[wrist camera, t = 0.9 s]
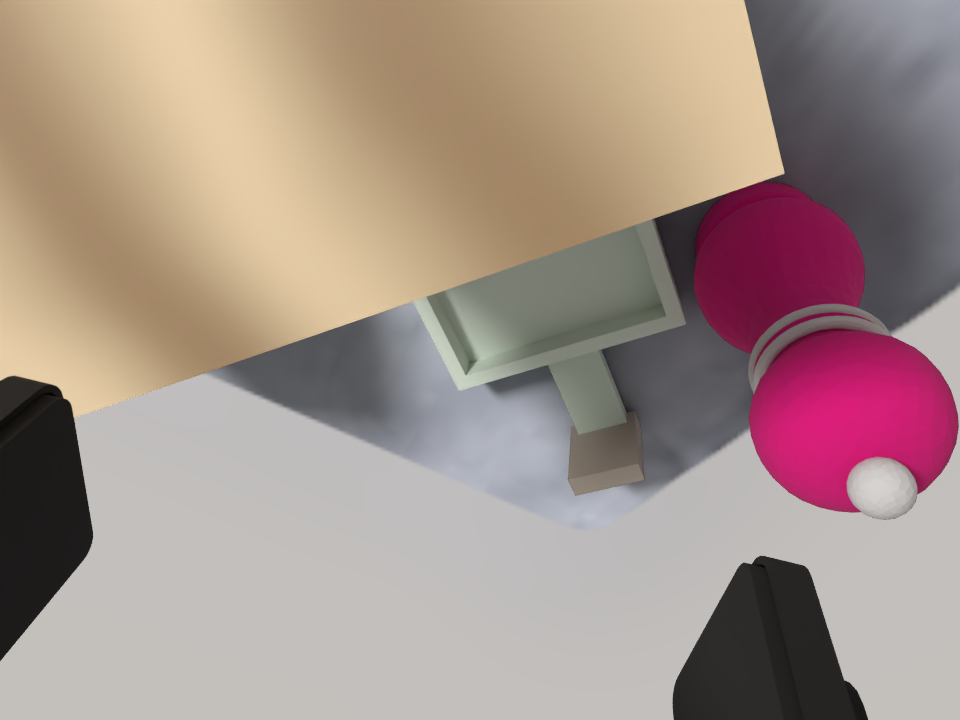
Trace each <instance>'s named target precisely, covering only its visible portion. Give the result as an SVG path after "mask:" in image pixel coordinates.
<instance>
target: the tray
mask: <svg viewBox="0 0 960 720" xmlns="http://www.w3.org/2000/svg"><path fill="white" fill-rule="evenodd" d="M413 302H414V304H415V306H416V308H417V310H418V312H419V314H420V316H421V318H422V320H423V322H424V324H425V326H426V328H427V330H428V331H429V333H430V335H431V337H432V339H433V341H434V343H435V345H436V347H437V349H438V351H439V353H440V355H441V357H442V359H443V361H444V363H445V364H446V366H447V368H448V370H449V372H450V374H451V376H452V378H453V380H454V382H455V384H456V386H457V388H458V390H459V391H460V390H464V389H467V388H470V387H474V386H477V385H481V384H484V383H488V382H491V381H495V380H498V379H501V378H505V377H508V376H512V375H515V374H519V373H522V372H525V371H529V370H532V369H536V368H539V367H543V366H546V365H548V367H549V369H550V371H551V373H552V376H553V378H554V380H555V382H556V385H557V387H558V389H559V391H560V394H561V396H562V398H563V401H564V403H565V405H566V407H567V410H568V412H569V414H570V416H571V419H572V421H573V423H574V426H573V427H571V439H570V456H569V472H568V481H569V483H570V485H571V488H572V490H573V492H574V494H575V496H577V495H581V494H585V493H590V492H594V491H599V490H603V489H608V488H612V487H617V486H621V485H626V484H630V483H634V482H639V481H643V480H645V476H644V463H643V450H642V437H641V426H640V423H639V421H638V418H637V416H636V413H635V411H631V412H627V413H626V410H625V408H624V405H623V403H622V400H621V398H620V395H619V393H618V390H617V388H616V385H615V383H614V380H613V377H612V375H611V372H610V370H609V367H608V365H607V362H606V360H605V357H604V355H603V352H602V350H601V349H605V348H608V347H611V346H615V345H618V344H622V343H625V342H629V341H632V340H635V339H639V338H642V337H646V336H649V335H653V334H656V333H659V332H663V331H666V330H670V329H673V328H677V327H680V326H684V325H686V321H685V316H684V311H683V307H682V302H681V299H680V296H679V293H678V290H677V287H676V284H675V281H674V278H673V275H672V272H671V269H670V266H669V262H668V259H667V256H666V253H665V250H664V247H663V244H662V241H661V238H660V235H659V232H658V229H657V226H656V223H655V220H654V219H651V220H648V221H645V222H642V223H639V224H636V225H633V226H631V227H628V228H625V229H622V230H619V231H616V232H613V233H610V234H607V235H604V236H602V237H599V238H596V239H593V240H590V241H587V242H584V243H581V244H578V245H575V246H572V247H570V248H567V249H564V250H561V251H558V252H555V253H552V254H549V255H546V256H543V257H540V258H538V259H535V260H532V261H529V262H526V263H523V264H520V265H517V266H514V267H511V268H509V269H506V270H503V271H500V272H497V273H494V274H491V275H488V276H485V277H482V278H479V279H477V280H474V281H471V282H468V283H465V284H462V285H459V286H456V287H453V288H450V289H447V290H445V291H442V292H439V293H436V294H433V295H430V296H427V297H424V298H421V299H418V300H416V301H413Z"/></svg>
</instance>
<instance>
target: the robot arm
mask: <svg viewBox="0 0 960 720" xmlns="http://www.w3.org/2000/svg"><path fill="white" fill-rule="evenodd" d="M92 540H93V530H92V524H91V518H90V512H89V506H88V500H87V494H86V488H85V482H84V476H83V470H82V465H81V458H80V452H79V446H78V440H77V434H76V428H75V422H74V416H73V410H72V406H71V403H70V402H69V401H68V400H67V399H64V398H63V395H62V392H61V390H60V389H59V388H58V387H57V386H55V385H52V384H48V383H43V382H39V381H35V380H31V379H27V378H23V377H18V376H9V377H6V378H4V379H3V380H1V381H0V661H1V660H2V658H3V657H4V656H5V655H6V653H7V652H8V651H9V650H10V649H11V647H12V646H13V645H14V644H15V643H16V641H17V640H18V639H19V638H20V636H21V635H22V634H23V633H24V632H25V630H26V629H27V628H28V626H29V625H30V624H31V623H32V622H33V621H34V619H35V618H36V617H37V616H38V615H39V613H40V612H41V611H42V610H43V608H44V607H45V606H46V605H47V603H48V602H49V601H50V600H51V599H52V598H53V596H54V595H55V594H56V593H57V591H58V590H59V589H60V588H61V587H62V585H63V584H64V583H65V582H66V581H67V579H68V578H69V577H70V576H71V574H72V573H73V572H74V571H75V570H76V568H77V567H78V566H79V565H80V563H81V562H82V561H83V560H84V558H85V557H86V555H87V554H88V552H89V550H90V547H91V544H92ZM673 715H674V720H868V718H867V715H866V711H865V708H864V705H863V703H862V701H861V699H860V697H859V694H858V692H857V690H856V689H855V688H854V687H853V686H852V685H851V684H850V683H849V682H847V681H844V679H843V676H842V673H841V669H840V666H839V663H838V660H837V657H836V653H835V650H834V647H833V644H832V641H831V637H830V634H829V631H828V628H827V625H826V622H825V618H824V615H823V612H822V609H821V606H820V602H819V599H818V596H817V593H816V590H815V586H814V583H813V580H812V577H811V575H810V572H809V570H808V569H807V568H806V567H805V566H803V565H799V564H795V563H791V562H786V561H782V560H778V559H774V558H770V557H766V556H759V557H757V558H756V559H755V560H754V562H753V563H752V564H748V563H742V564H741V565H740V566H739V568H738V569H737V571H736V573H735V575H734V576H733V578H732V580H731V582H730V584H729V585H728V587H727V589H726V591H725V593H724V594H723V596H722V598H721V600H720V601H719V603H718V605H717V607H716V609H715V611H714V612H713V614H712V616H711V618H710V620H709V621H708V623H707V625H706V627H705V629H704V630H703V632H702V634H701V636H700V638H699V640H698V641H697V643H696V645H695V647H694V648H693V650H692V652H691V654H690V656H689V658H688V659H687V661H686V663H685V665H684V667H683V669H682V670H681V672H680V674H679V676H678V678H677V680H676V683H675V686H674V693H673Z"/></svg>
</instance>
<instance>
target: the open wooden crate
mask: <svg viewBox="0 0 960 720" xmlns="http://www.w3.org/2000/svg"><path fill="white" fill-rule="evenodd" d="M782 174H785V173H784V169H783V164H782V160H781V156H780V152H779V147H778V143H777V139H776V134H775V130H774V126H773V122H772V117H771V113H770V109H769V105H768V100H767V96H766V92H765V87H764V83H763V79H762V75H761V70H760V66H759V62H758V57H757V53H756V49H755V45H754V40H753V36H752V32H751V27H750V23H749V19H748V15H747V10H746V6H745V2H744V0H0V381H1V380H3V379H4V378H6V377H9V376H18V377H23V378H27V379H31V380H35V381H39V382H43V383H48V384H52V385H55V386H57V387H58V388H59V389H60V390H61V392H62V395H63V398H64V399H67V400H68V401H69V402H70V403H71V406H72V410H73V416H74V418H75V417H78V416H81V415H84V414H87V413H90V412H93V411H96V410H99V409H102V408H105V407H107V406H110V405H113V404H116V403H119V402H122V401H125V400H128V399H131V398H134V397H136V396H139V395H142V394H145V393H148V392H151V391H154V390H157V389H160V388H163V387H166V386H168V385H171V384H174V383H177V382H180V381H183V380H186V379H189V378H192V377H195V376H198V375H200V374H203V373H206V372H209V371H212V370H215V369H218V368H221V367H224V366H227V365H230V364H232V363H235V362H238V361H241V360H244V359H247V358H250V357H253V356H256V355H259V354H261V353H264V352H267V351H270V350H273V349H276V348H279V347H282V346H285V345H288V344H291V343H293V342H296V341H299V340H302V339H305V338H308V337H311V336H314V335H317V334H320V333H323V332H325V331H328V330H331V329H334V328H337V327H340V326H343V325H346V324H349V323H352V322H354V321H357V320H360V319H363V318H366V317H369V316H372V315H375V314H378V313H381V312H384V311H386V310H389V309H392V308H395V307H398V306H401V305H404V304H407V303H410V302H413V301H416V300H418V299H421V298H424V297H427V296H430V295H433V294H436V293H439V292H442V291H445V290H447V289H450V288H453V287H456V286H459V285H462V284H465V283H468V282H471V281H474V280H477V279H479V278H482V277H485V276H488V275H491V274H494V273H497V272H500V271H503V270H506V269H509V268H511V267H514V266H517V265H520V264H523V263H526V262H529V261H532V260H535V259H538V258H540V257H543V256H546V255H549V254H552V253H555V252H558V251H561V250H564V249H567V248H570V247H572V246H575V245H578V244H581V243H584V242H587V241H590V240H593V239H596V238H599V237H602V236H604V235H607V234H610V233H613V232H616V231H619V230H622V229H625V228H628V227H631V226H633V225H636V224H639V223H642V222H645V221H648V220H651V219H654V218H657V217H660V216H663V215H665V214H668V213H671V212H674V211H677V210H680V209H683V208H686V207H689V206H692V205H695V204H697V203H700V202H703V201H706V200H709V199H712V198H715V197H718V196H721V195H724V194H726V193H729V192H732V191H735V190H738V189H741V188H744V187H747V186H750V185H753V184H756V183H758V182H761V181H764V180H767V179H770V178H773V177H776V176H779V175H782Z"/></svg>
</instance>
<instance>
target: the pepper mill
mask: <svg viewBox="0 0 960 720" xmlns="http://www.w3.org/2000/svg"><path fill="white" fill-rule="evenodd" d="M695 253H696V259H697V260H696V265H695V269H694V290H695V295H696V298H697V301H698V304H699V306H700V308H701V310H702V312H703V314H704V316H705V318H706V320H707V322H708V323H709V325H710V326H711V327H712V328H713V329H714V330H715V331H716V332H717V333H718V334H719V335H720V336H721V337H722V338H723V339H724V340H725V341H727V342H728V343H730V344H731V345H733V346H734V347H736V348H738V349H740V350H742V351H745V352H747V353H750V354H751V356H750V360H749V366H748V377H749V382H750V386H751V388H752V391H753V394H754V395H753V397H752V402H751V408H750V413H749V423H750V431H751V437H752V439H753V443H754V445H755V448H756V452H757V454H758V456H759V458H760V460H761V462H762V463H763V465H764V466H765V468H766V469H767V470H768V472H769V473H770V475H771V476H772V477H773V478H774V479H775V480H776V481H777V482H778V483H779V484H780V485H781V486H782V487H784V488H785V489H786V490H787V491H788V492H789V493H791V494H793V495H794V496H796V497H797V498H799V499H801V500H802V501H805V502H807V503H810V504H812V505H815V506H817V507H821V508H825V509H829V510H834V511H841V512H862V513H864V514H865V515H867V516H870V517H872V518H877V519H883V520H887V519H895V518H897V517H899V516H901V515H903V514H905V513H907V512H908V511H909V510H910V509H911V508H912V507H913V505H914V503H915V502H916V498H917V494H919V493H921V492H922V491H924V490H925V489H926V488H927V487H928V486H929V485H930V484H931V483H932V482H933V481H934V480H935V479H936V478H937V477H938V476H939V475H940V474H941V472H942V471H943V469H944V468H945V466H946V465H947V463H948V462H949V459H950V457H951V454H952V452H953V450H954V447H955V445H956V440H957V434H958V427H959V426H958V414H957V410H956V406H955V402H954V398H953V395H952V392H951V390H950V388H949V386H948V384H947V382H946V381H945V379H944V377H943V376H942V374H941V372H940V371H939V370H938V369H937V368H936V367H935V366H934V365H933V364H932V362H931V361H929V359H928V358H927V357H926V356H925V355H923V354H922V353H921V352H920V351H918V350H917V349H916V348H914V347H912V346H910V345H908V344H906V343H904V342H902V341H900V340H898V339H896V338H894V337H892V336H891V334H890V332H889V331H888V329H887V328H886V326H885V325H884V324H883V323H882V322H881V321H880V320H879V319H877V318H876V317H875V316H873V315H872V314H870V313H868V312H866V311H864V310H862V309H859V308H858V306H859V303H860V300H861V297H862V294H863V291H864V279H865V269H864V260H863V255H862V251H861V249H860V247H859V244H858V242H857V240H856V238H855V236H854V235H853V233H852V231H851V230H850V228H849V227H848V226H847V224H846V223H845V222H844V221H843V220H842V219H841V218H840V217H839V216H838V215H837V214H836V213H834V212H833V211H831V210H830V209H829V208H827V207H824V206H822V205H820V204H818V203H816V202H813V201H812V200H811V199H810V198H809V197H808V196H807V195H806V194H805V193H803V192H801V191H800V190H798V189H796V188H794V187H791V186H789V185H785V184H779V183H756V184H753V185H750V186H747V187H744V188H741V189H738V190H735V191H732V192H730V193H729V194H727V195H726V196H724V197H723V198H721V199H720V200H719V201H718V202H717V203H716V204H715V205H714V206H713V207H712V208H711V209H710V210H709V211H708V213H707V214H706V215H705V217H704V218H703V220H702V222H701V224H700V226H699V229H698V232H697V236H696V241H695Z"/></svg>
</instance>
